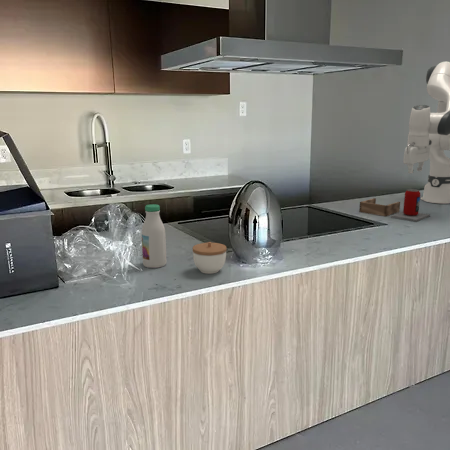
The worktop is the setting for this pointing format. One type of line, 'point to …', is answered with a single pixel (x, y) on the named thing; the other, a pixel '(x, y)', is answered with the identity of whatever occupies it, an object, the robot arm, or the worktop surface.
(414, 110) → the robot arm
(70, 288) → the worktop surface
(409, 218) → the rubber mat
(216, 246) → the lidded jar
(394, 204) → the wooden tray
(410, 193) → the beverage can
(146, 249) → the milk bottle
